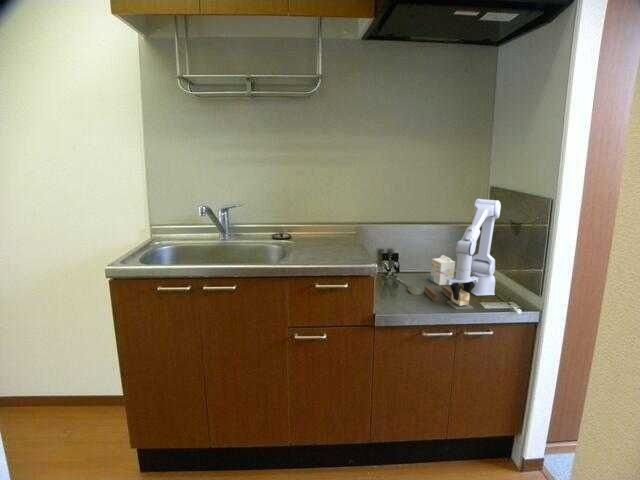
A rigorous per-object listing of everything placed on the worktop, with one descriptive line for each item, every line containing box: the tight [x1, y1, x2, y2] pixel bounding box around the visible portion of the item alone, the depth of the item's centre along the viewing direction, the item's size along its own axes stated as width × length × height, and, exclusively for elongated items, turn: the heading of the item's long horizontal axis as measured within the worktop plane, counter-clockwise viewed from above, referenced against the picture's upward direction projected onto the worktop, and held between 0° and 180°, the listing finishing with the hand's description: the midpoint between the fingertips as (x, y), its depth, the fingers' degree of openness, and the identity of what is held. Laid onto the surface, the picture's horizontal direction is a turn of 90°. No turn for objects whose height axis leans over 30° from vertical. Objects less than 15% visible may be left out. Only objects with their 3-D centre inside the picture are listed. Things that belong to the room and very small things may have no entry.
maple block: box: [450, 288, 471, 306], centre depth 168 cm, size 4×6×5 cm
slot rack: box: [423, 285, 452, 302], centre depth 179 cm, size 10×11×3 cm
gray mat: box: [446, 300, 474, 310], centre depth 169 cm, size 8×8×1 cm
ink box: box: [429, 254, 456, 286], centre depth 198 cm, size 9×8×13 cm
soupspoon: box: [396, 277, 424, 296], centre depth 191 cm, size 22×3×7 cm
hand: (460, 299), depth 168 cm, fingers closed on maple block, 4 cm apart
